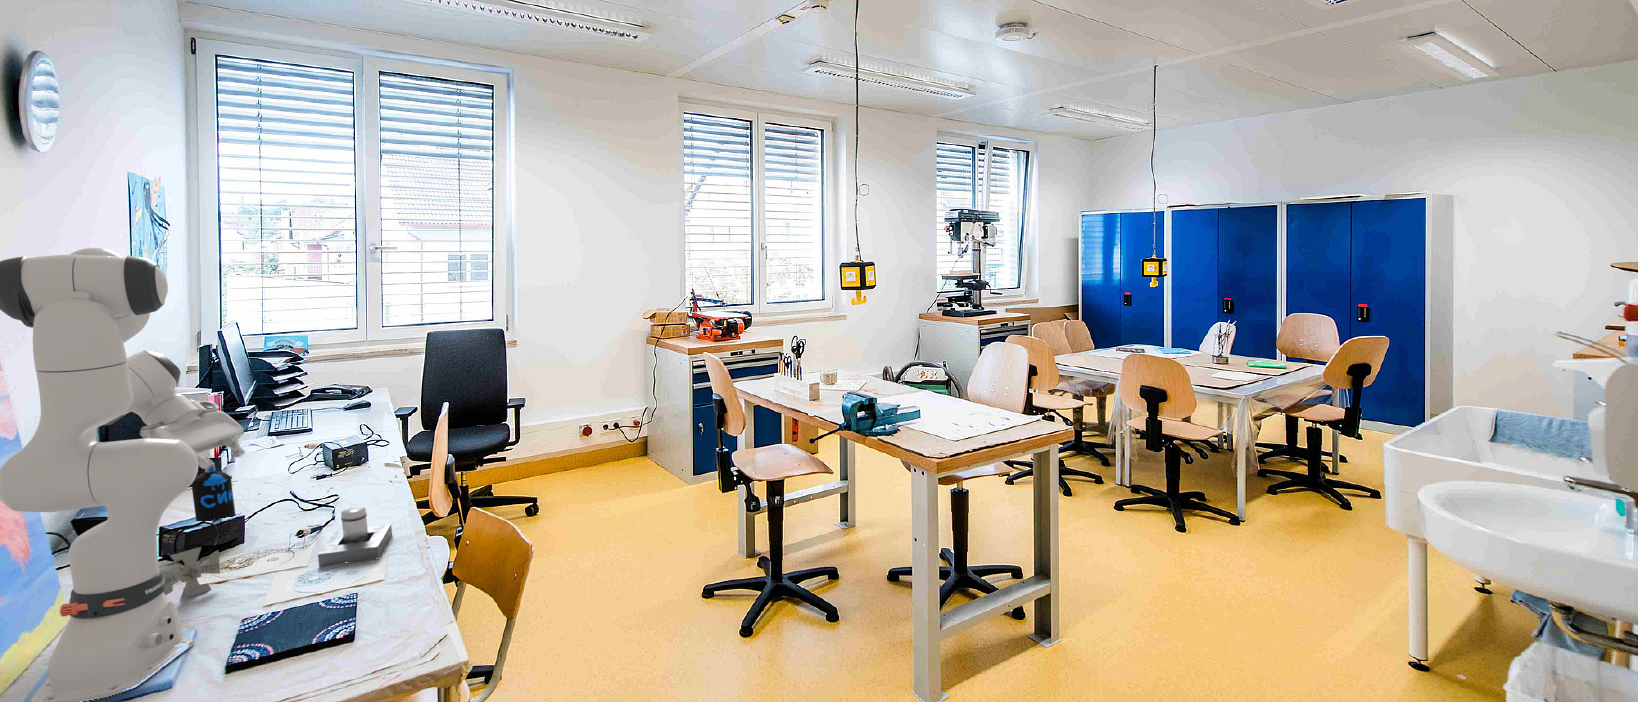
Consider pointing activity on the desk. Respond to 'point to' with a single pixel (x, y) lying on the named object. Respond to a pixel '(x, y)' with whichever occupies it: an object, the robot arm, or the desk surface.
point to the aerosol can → (213, 495)
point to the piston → (354, 525)
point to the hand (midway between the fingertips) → (225, 460)
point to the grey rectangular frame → (355, 547)
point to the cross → (191, 572)
